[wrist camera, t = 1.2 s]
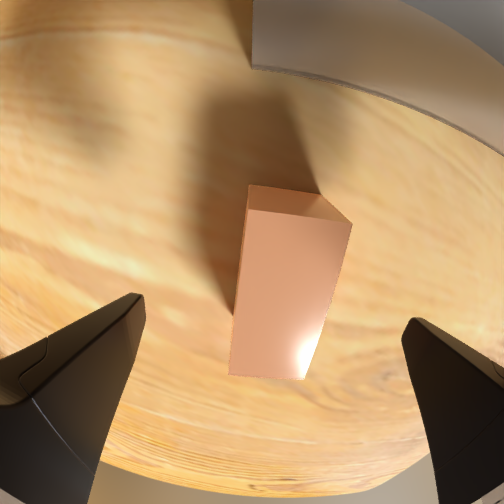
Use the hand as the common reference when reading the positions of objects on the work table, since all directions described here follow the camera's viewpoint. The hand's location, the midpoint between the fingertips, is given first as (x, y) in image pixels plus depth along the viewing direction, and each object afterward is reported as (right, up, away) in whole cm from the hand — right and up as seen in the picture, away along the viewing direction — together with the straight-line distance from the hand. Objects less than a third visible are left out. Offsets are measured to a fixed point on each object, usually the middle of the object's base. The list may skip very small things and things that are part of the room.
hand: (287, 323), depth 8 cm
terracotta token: (0, +2, +4) cm, 5 cm away
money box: (+8, +14, -1) cm, 16 cm away
